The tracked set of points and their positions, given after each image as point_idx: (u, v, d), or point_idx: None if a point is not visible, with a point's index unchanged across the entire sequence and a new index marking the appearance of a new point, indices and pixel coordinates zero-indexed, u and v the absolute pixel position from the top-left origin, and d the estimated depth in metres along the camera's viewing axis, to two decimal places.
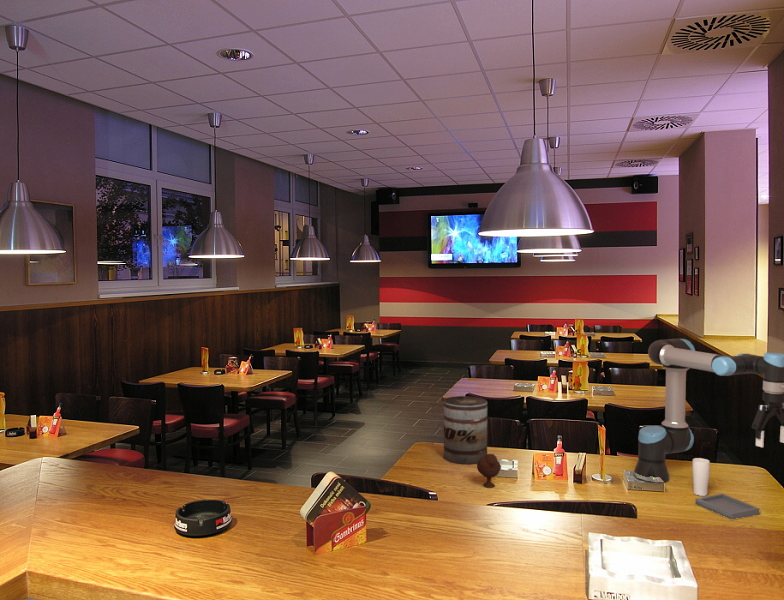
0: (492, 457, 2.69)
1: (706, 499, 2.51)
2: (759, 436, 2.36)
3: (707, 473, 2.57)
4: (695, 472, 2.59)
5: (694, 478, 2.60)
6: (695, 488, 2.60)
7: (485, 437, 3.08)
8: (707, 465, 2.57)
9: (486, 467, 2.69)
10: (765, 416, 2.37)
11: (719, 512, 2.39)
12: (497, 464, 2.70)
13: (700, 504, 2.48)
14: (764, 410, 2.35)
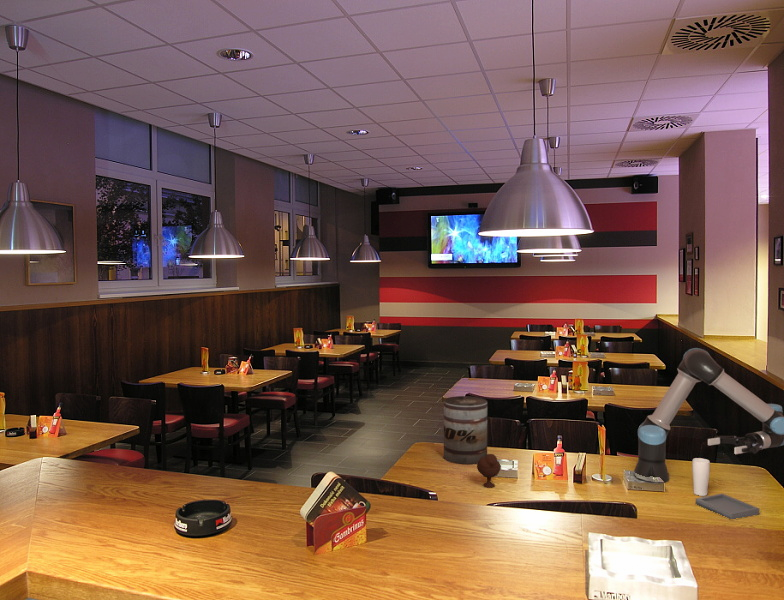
0: (492, 457, 2.69)
1: (706, 499, 2.51)
2: (744, 451, 2.58)
3: (707, 473, 2.57)
4: (695, 472, 2.59)
5: (694, 478, 2.60)
6: (695, 488, 2.60)
7: (485, 437, 3.08)
8: (707, 465, 2.57)
9: (486, 467, 2.69)
10: None
11: (719, 512, 2.39)
12: (497, 464, 2.70)
13: (700, 504, 2.48)
14: None
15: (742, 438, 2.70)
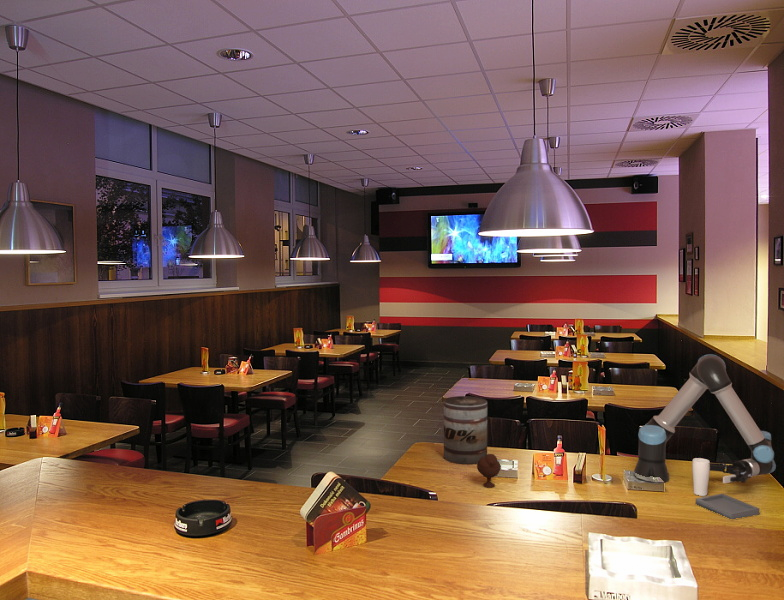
0: (492, 457, 2.69)
1: (706, 499, 2.51)
2: None
3: (707, 473, 2.57)
4: (695, 472, 2.59)
5: (694, 478, 2.60)
6: (695, 488, 2.60)
7: (485, 437, 3.08)
8: (707, 465, 2.57)
9: (486, 467, 2.69)
10: None
11: (719, 512, 2.39)
12: (497, 464, 2.70)
13: (700, 504, 2.48)
14: None
15: (731, 466, 2.67)
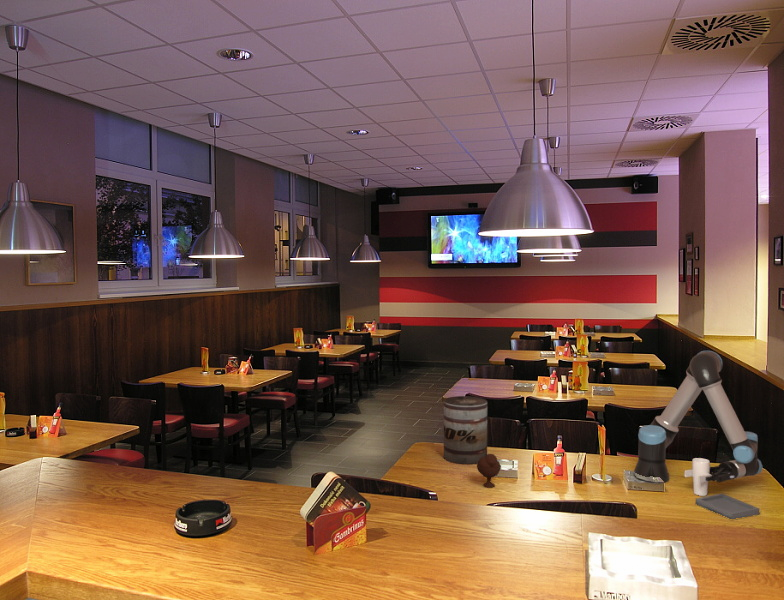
0: (492, 457, 2.69)
1: (706, 499, 2.51)
2: None
3: (707, 473, 2.57)
4: (695, 472, 2.59)
5: (694, 478, 2.60)
6: (695, 488, 2.60)
7: (485, 437, 3.08)
8: (707, 465, 2.57)
9: (486, 467, 2.69)
10: None
11: (719, 512, 2.39)
12: (497, 464, 2.70)
13: (700, 504, 2.48)
14: None
15: (717, 467, 2.65)
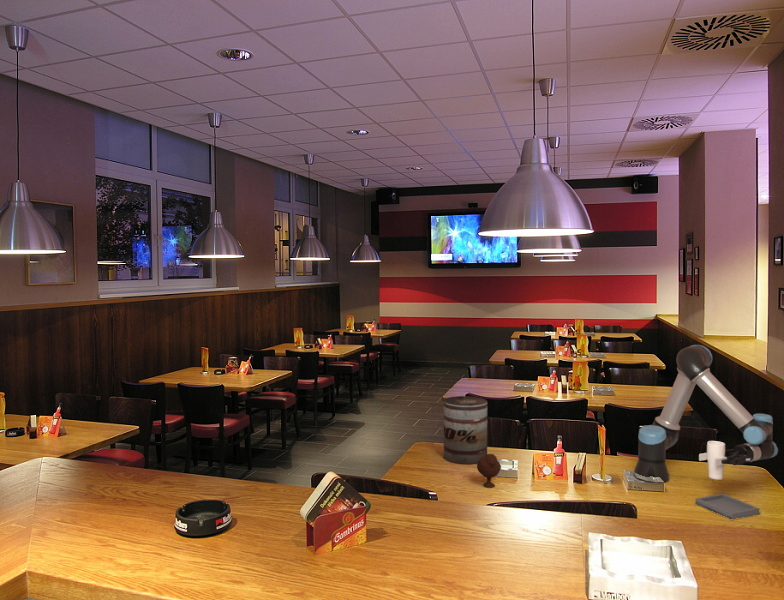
0: (492, 457, 2.69)
1: (706, 499, 2.51)
2: None
3: (723, 456, 2.49)
4: (710, 455, 2.51)
5: (709, 461, 2.52)
6: (710, 472, 2.52)
7: (485, 437, 3.08)
8: (722, 447, 2.49)
9: (486, 467, 2.69)
10: None
11: (719, 512, 2.39)
12: (497, 464, 2.70)
13: (700, 504, 2.48)
14: None
15: (732, 450, 2.57)
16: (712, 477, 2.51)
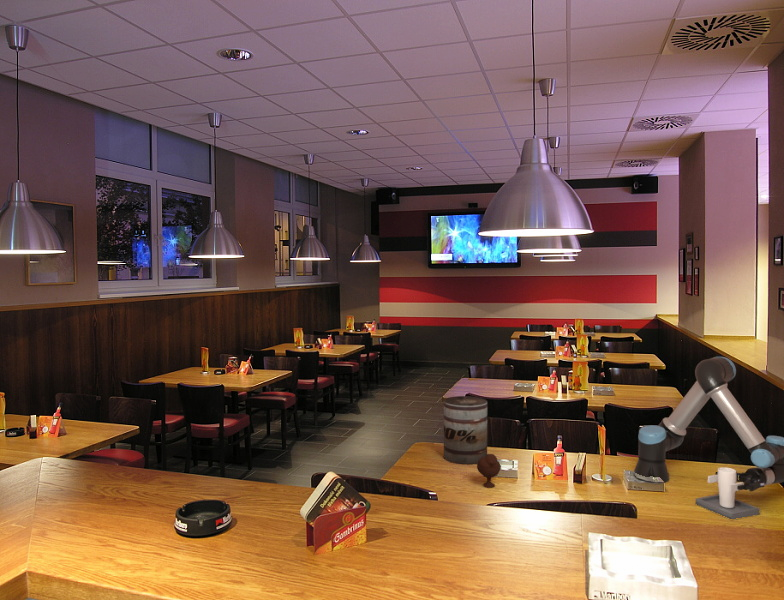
0: (492, 457, 2.69)
1: (706, 499, 2.51)
2: None
3: (734, 483, 2.41)
4: (721, 483, 2.43)
5: (720, 489, 2.44)
6: (721, 500, 2.44)
7: (485, 437, 3.08)
8: (734, 475, 2.41)
9: (486, 467, 2.69)
10: (750, 483, 2.43)
11: (719, 512, 2.39)
12: (497, 464, 2.70)
13: (700, 504, 2.48)
14: None
15: (744, 474, 2.49)
16: (723, 505, 2.43)
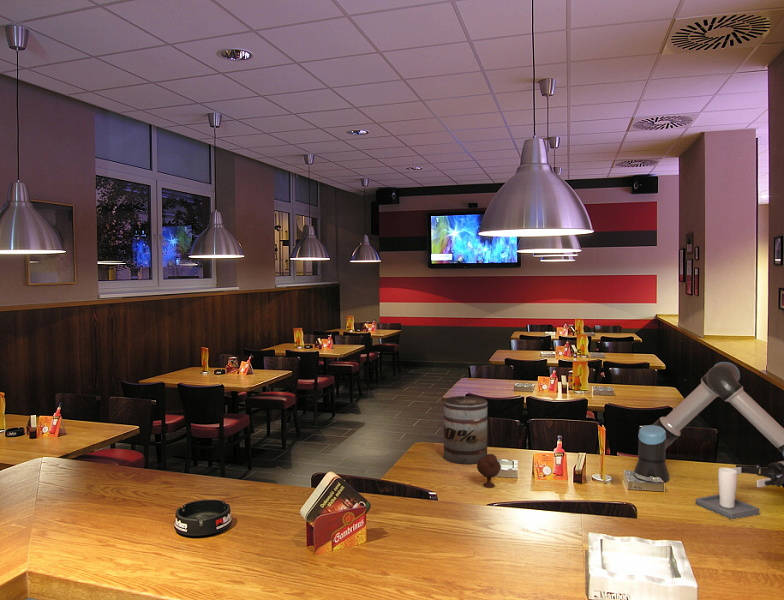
0: (492, 457, 2.69)
1: (706, 499, 2.51)
2: None
3: (734, 484, 2.41)
4: (721, 483, 2.43)
5: (720, 489, 2.44)
6: (721, 500, 2.44)
7: (485, 437, 3.08)
8: (734, 475, 2.41)
9: (486, 467, 2.69)
10: None
11: (719, 512, 2.39)
12: (497, 464, 2.70)
13: (700, 504, 2.48)
14: None
15: (765, 468, 2.54)
16: (723, 505, 2.43)
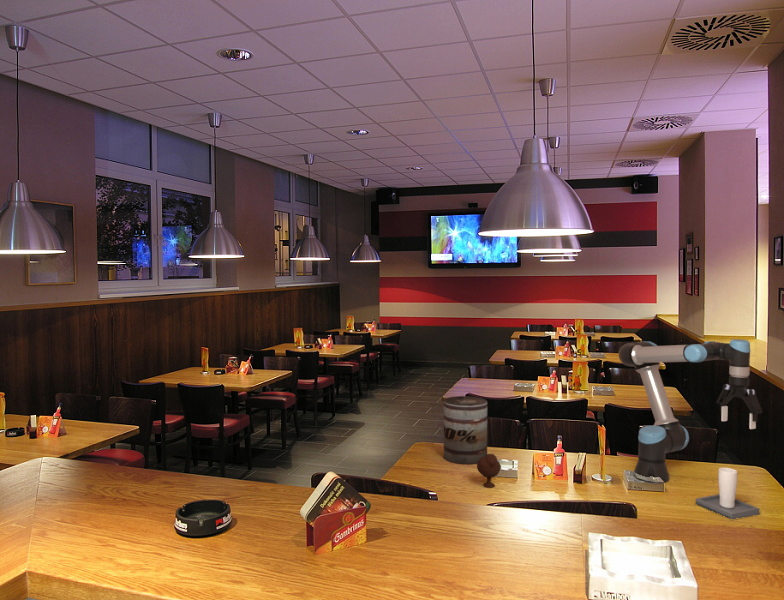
0: (492, 457, 2.69)
1: (706, 499, 2.51)
2: None
3: (734, 484, 2.41)
4: (721, 483, 2.43)
5: (720, 489, 2.44)
6: (721, 500, 2.44)
7: (485, 437, 3.08)
8: (734, 475, 2.41)
9: (486, 467, 2.69)
10: (749, 399, 2.54)
11: (719, 512, 2.39)
12: (497, 464, 2.70)
13: (700, 504, 2.48)
14: None
15: (733, 392, 2.58)
16: (723, 505, 2.43)
